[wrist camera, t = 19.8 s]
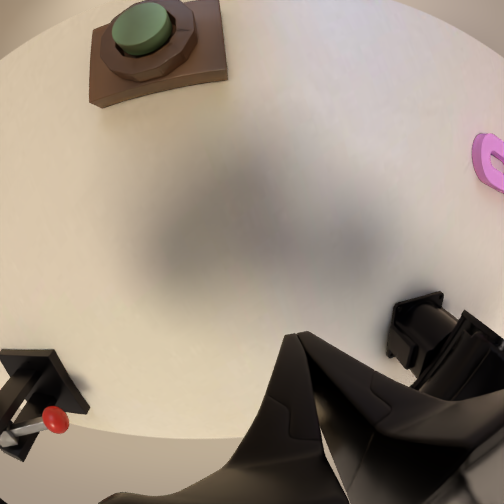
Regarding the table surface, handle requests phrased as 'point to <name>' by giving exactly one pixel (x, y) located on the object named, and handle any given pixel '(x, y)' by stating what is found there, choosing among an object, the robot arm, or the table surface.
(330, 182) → the table surface
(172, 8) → the button block
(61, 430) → the switch lever
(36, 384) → the switch bracket
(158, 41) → the button
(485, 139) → the bracket
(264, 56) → the table surface
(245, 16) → the table surface
